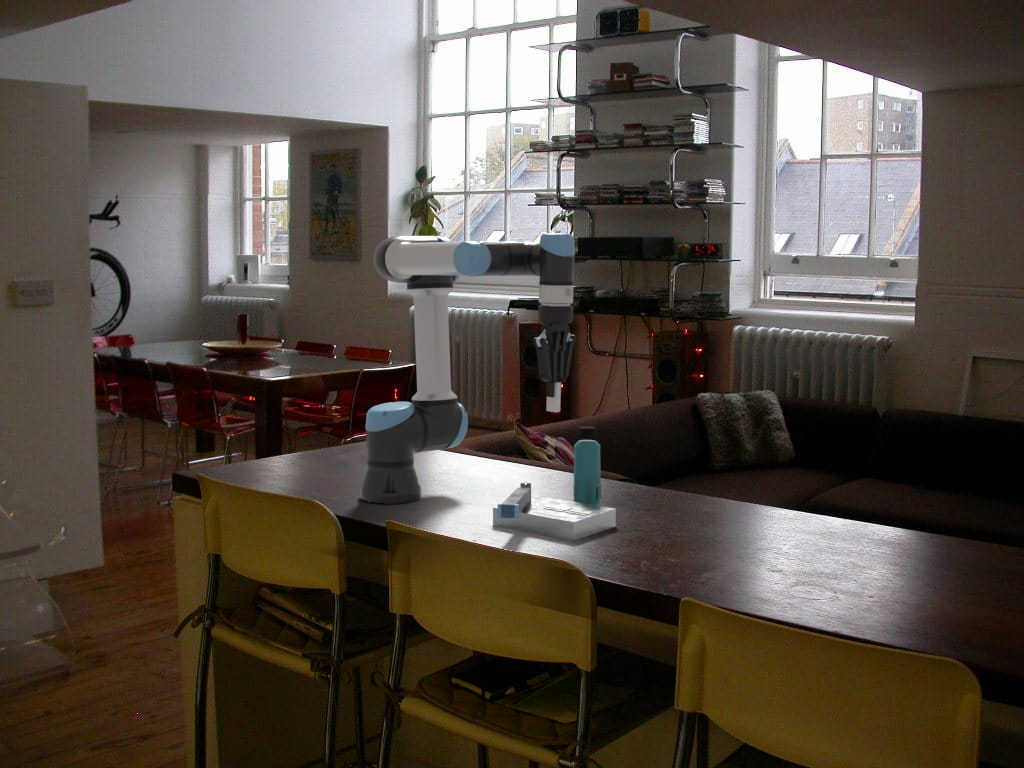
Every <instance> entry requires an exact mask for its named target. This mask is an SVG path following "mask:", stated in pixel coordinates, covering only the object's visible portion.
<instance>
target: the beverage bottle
mask: <svg viewBox="0 0 1024 768" xmlns="http://www.w3.org/2000/svg"><path fill="white" fill-rule="evenodd" d="M596 432H597V430H596V426H588V425H587V426H585V425H583V426H579V427H578V434H577V436H578V437H583V438H592V437H597V436H596V435H597V433H596ZM573 450H574V451H573V501H572V502H578V503H584V504H590V505H596V506H601V502H602V500H601V499H602V495H601V494H602V490H601V489H602V485H601V482H602V480H601V469H602V467H601V444H600V443H599V442H598V441H597V440H592V439H581V440H578V441H577V442H575V444H574V445H573Z"/></svg>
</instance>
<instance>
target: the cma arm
mask: <svg viewBox="0 0 1024 768" xmlns="http://www.w3.org/2000/svg"><path fill="white" fill-rule="evenodd" d="M529 501H530V488H520V487H517V488H516V489H514V491H513V492H512V493H511V494H510V495H509V496H508V497H507V498H506V499H505V500H504V501H503V502H502V503H497V506H498V518H517V519H518V518H519V513H520V511H521V510H522V509H523V508H524V507H525V506H526V504H527V503H528V502H529Z"/></svg>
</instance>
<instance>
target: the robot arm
mask: <svg viewBox="0 0 1024 768" xmlns="http://www.w3.org/2000/svg"><path fill="white" fill-rule="evenodd" d="M539 239H540V240H539V242H535V241H523V240H515V241H489V240H482V241H481V240H467V241H453V240H451V239H450V238H447V237H445V236H437V235H393V236H391V237H387V238H386V239H384V240H382V241H381V242H380V243H378V245H377V247H376V248H375V251H374V254H373V265H374V267H375V270H376V273H378V275H380V276H381V277H382V278H384V279H385V280H386V281H389V282H393V283H396V284H406V291H407V293H409V294H410V295H411V296H412V297H413V315H414V316H413V318H414V340H415V342H414V343H415V364H416V369H415V370H416V390H417V391H416V393H415V394H414V395H413V396H412V397H411V402H410V401H394V402H391V401H390V402H384V403H381V404H377V405H373V406H372V407H370V408H369V409H368V411H367V412H366V420H365V436H366V439H365V441H366V444H365V445H366V469H365V473H364V477H363V481H362V486H361V485H360V486H361V487H360V489H359V499H360V498H361V499H363V500H365V501H364V502H366V501H369V502H368V503H370V502H375V503H374V504H380V503H384V504H385V505H388V504H389V505H391V504H404V503H411V502H414V501H418V500H420V499H421V498H422V488H421V487H422V486H421V485H420V484H419V479H418V475H417V473H416V469H415V462H414V461H415V459H414V458H415V454H417V453H419V454H420V453H423V452H425V453H426V452H432V451H445V450H447V449H452V448H455V447H458V445H460V444H461V443H462V442H463V440H464V439H465V437H466V434H467V432H468V426H469V420H468V418H469V416H468V413H467V411H466V408H465V407H464V406H463V404H461V403H459V402H458V396H457V395H456V394H455V393H454V392H453V391H452V380H451V379H452V378H451V356H450V331H449V329H450V327H449V325H450V324H449V303H448V301H449V300H448V296H449V294H450V293H451V292H452V291H453V290H454V282H456V281H457V280H458V279H459V278H460V277H461V276H466V277H467V276H468V277H472V278H473V277H491V276H492V277H495V276H499V277H501V276H502V277H507V276H508V277H509V276H512V277H513V276H522V277H523V276H524V277H526V276H528V277H529V276H531V277H533V276H534V277H535V276H536V277H539V282H538V284H539V285H538V303H540V305H539V306H538V319H537V320H538V322H540V323H541V329H540V335H539V336H538V337H534V338H533V340H532V341H533V344H534V347H535V350H536V351H535V352H536V359H537V366H538V375H539V379H540V380H541V381H542V382H544V383H545V384H546V386H545V387H546V389H545V395H546V406H545V407H546V410H545V411H546V412H551V413H560V412H561V395H562V383H565V382H567V379H568V377H569V375H570V367H571V363H572V362H571V361H572V356H573V349H574V344H575V342H576V340H577V336H576V334H571V332H570V326H569V324H571V323H572V322H573V321H574V320H573V319H574V306H572V305H571V304H573V302H574V285H575V284H574V283H575V282H574V280H575V257H576V251H575V247H576V246H575V238H574V236H573V234H571V233H550V232H549V233H548V232H547V233H542V234H541V235H540V238H539ZM361 499H360V500H361ZM363 500H362V501H363Z"/></svg>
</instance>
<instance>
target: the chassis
mask: <svg viewBox="0 0 1024 768" xmlns="http://www.w3.org/2000/svg"><path fill="white" fill-rule="evenodd" d="M519 486H520V487H519V488H530V501H529V502H528V503H527V504H526V506H525V507H524V508H523V509H522V510H521V511H520V513H519V518H518V519H517V518H498V505H497V506H494V507H492V525H493V526H495V527H500V528H505V529H511V530H517V531H520V532H521V531H522V532H527V533H532V534H535V535H536V534H537V535H543V536H547V537H552V538H558V539H563V540H568V541H572V542H573V541H574V542H575V541H577V540H579V539H582V538H586V537H589V536H591V535H594V534H598V533H600V532H604V531H607V530H609V529H613V528H617V527H616V526H617V525H616V524H617V523H616V522H617V521H616V519H617V518H616V514H617V513H616V512H617V509H616V508H613V507H608V506H607V507H606V506H601V505H599V506H596V505H590V504H584V503H578V502H574V501H571V500H564V499H560V498H554V497H547V496H546V497H545V496H541V495H533V496H532V483H531V482H520V485H519Z"/></svg>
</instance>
